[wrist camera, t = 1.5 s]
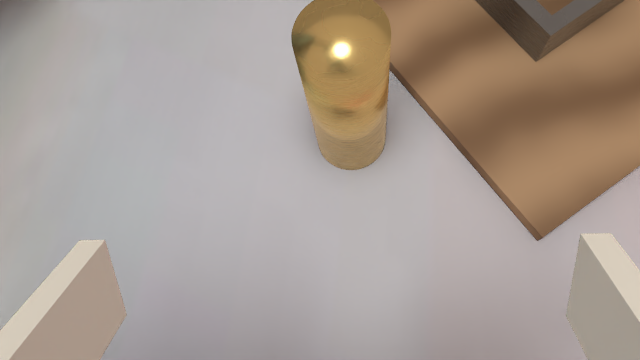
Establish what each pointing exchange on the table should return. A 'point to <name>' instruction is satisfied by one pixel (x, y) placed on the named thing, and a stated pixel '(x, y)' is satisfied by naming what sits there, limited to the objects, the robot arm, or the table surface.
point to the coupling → (345, 77)
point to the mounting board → (526, 101)
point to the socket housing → (544, 21)
